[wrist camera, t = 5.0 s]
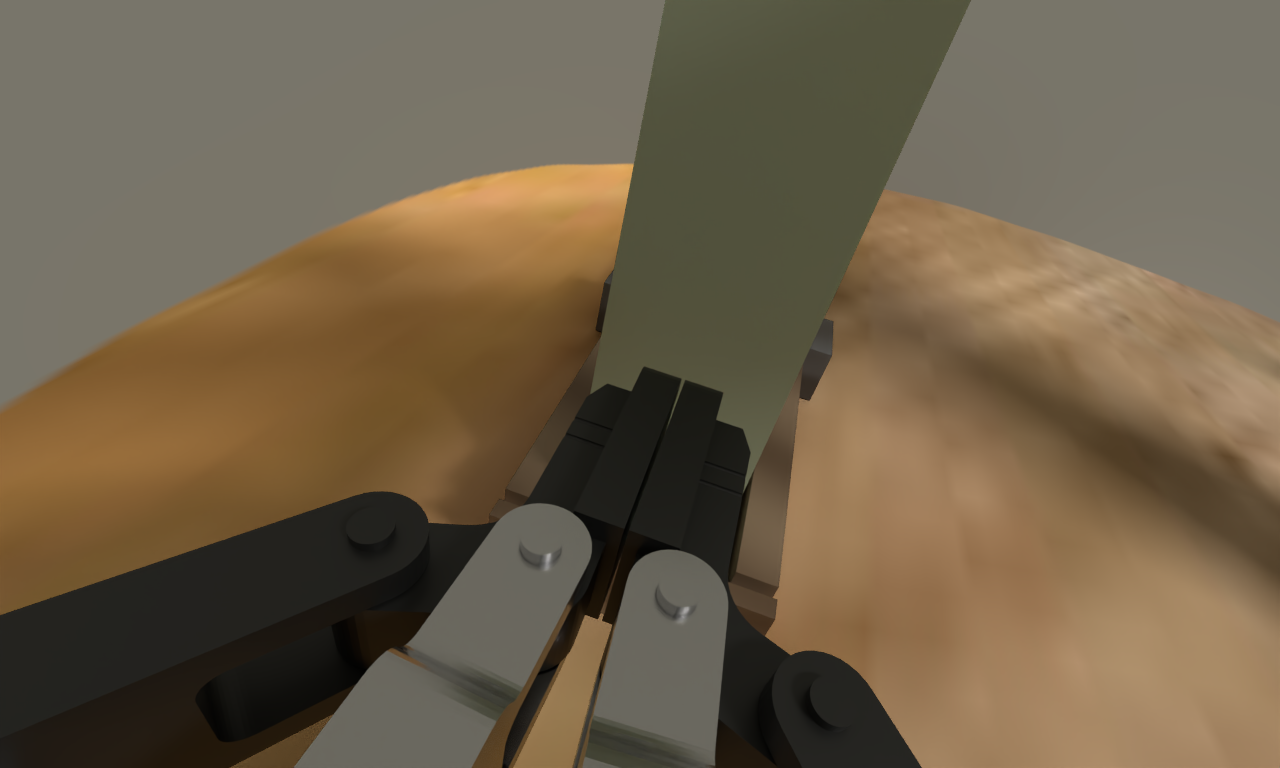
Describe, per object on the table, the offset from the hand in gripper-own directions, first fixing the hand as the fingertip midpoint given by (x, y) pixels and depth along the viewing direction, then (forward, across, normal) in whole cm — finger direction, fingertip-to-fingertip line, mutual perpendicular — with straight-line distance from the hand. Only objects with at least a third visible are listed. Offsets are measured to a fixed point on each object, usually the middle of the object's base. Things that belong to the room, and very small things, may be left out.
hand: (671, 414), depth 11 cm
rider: (+5, 0, +9) cm, 10 cm away
